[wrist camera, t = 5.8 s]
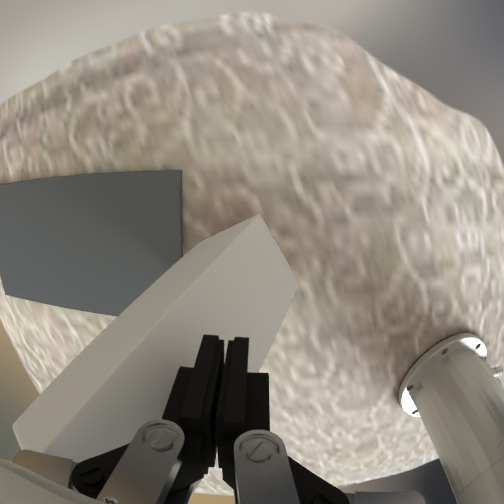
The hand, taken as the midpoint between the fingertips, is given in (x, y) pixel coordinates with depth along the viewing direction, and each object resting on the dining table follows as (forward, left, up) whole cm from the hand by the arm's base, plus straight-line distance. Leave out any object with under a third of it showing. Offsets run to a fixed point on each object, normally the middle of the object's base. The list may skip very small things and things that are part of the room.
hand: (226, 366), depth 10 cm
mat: (+17, 0, -13) cm, 22 cm away
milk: (0, 0, -12) cm, 12 cm away
